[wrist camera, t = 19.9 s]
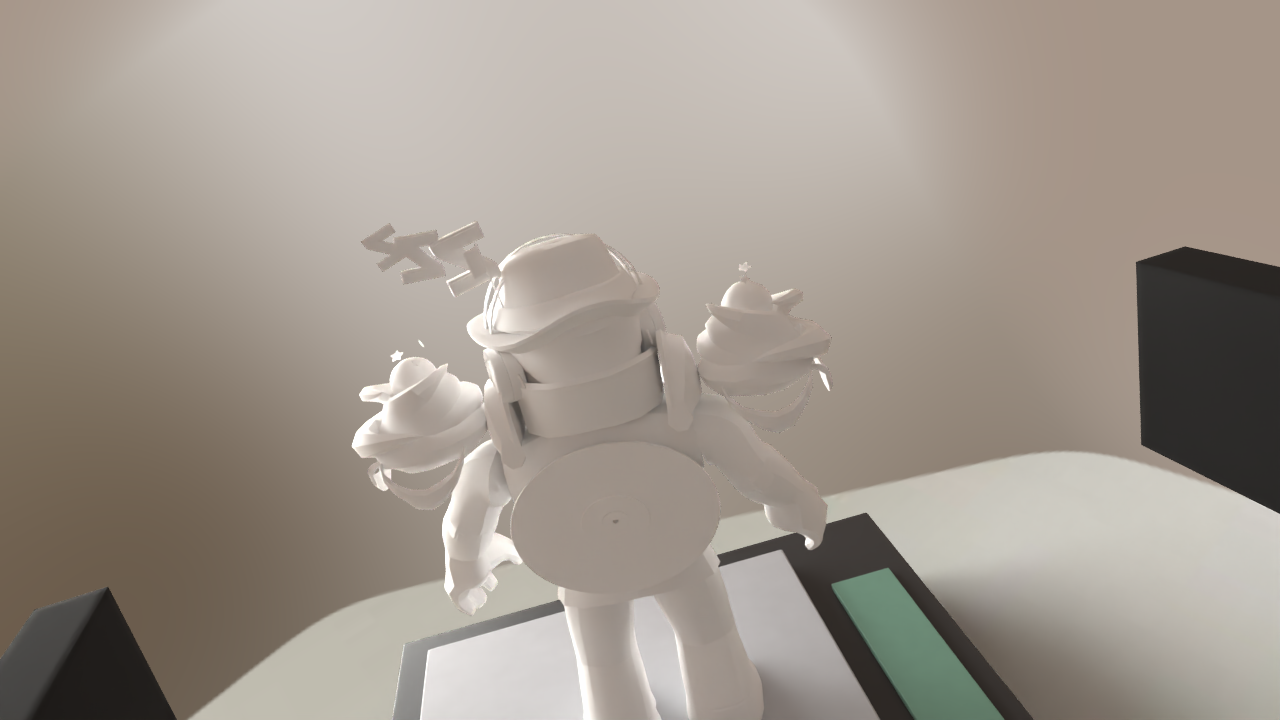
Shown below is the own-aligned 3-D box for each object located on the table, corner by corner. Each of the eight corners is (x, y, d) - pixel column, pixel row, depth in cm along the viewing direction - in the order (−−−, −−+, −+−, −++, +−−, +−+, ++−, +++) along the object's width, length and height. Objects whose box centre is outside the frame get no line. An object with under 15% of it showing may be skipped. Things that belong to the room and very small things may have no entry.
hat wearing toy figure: (467, 826, 18) (247, 265, 14) (491, 691, 22) (322, 215, 18) (907, 739, 18) (815, 133, 14) (856, 616, 21) (771, 110, 17)
